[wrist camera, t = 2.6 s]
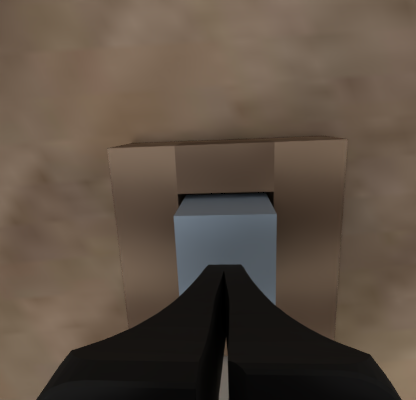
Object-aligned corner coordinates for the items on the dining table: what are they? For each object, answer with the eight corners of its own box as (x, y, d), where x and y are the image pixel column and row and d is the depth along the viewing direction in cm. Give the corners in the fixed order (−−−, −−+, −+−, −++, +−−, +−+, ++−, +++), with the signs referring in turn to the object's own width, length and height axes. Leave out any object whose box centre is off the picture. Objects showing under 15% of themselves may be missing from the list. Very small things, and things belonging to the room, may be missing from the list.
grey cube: (265, 266, 18) (275, 306, 14) (190, 267, 18) (180, 306, 14) (266, 193, 17) (276, 214, 13) (186, 194, 17) (173, 216, 13)
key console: (310, 401, 24) (326, 456, 20) (156, 397, 24) (143, 448, 21) (323, 136, 19) (347, 139, 15) (131, 143, 20) (107, 148, 16)
